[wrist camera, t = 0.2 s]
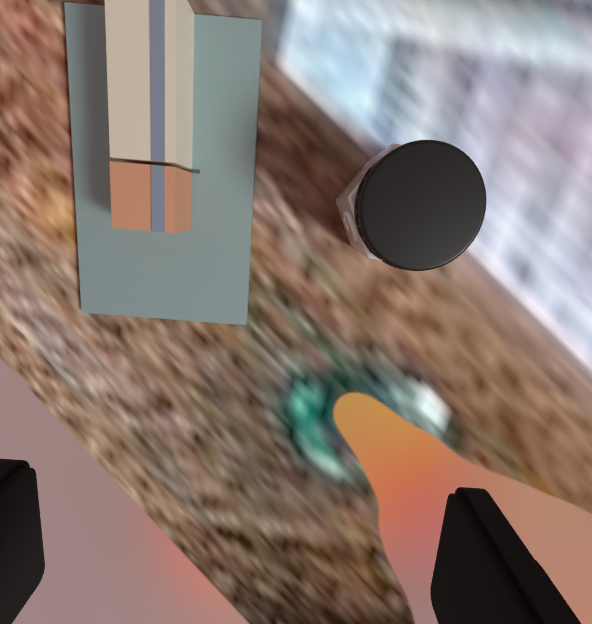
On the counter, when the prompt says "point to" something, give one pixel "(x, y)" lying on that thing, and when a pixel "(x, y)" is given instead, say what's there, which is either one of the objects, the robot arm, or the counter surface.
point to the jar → (414, 205)
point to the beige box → (150, 81)
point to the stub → (150, 197)
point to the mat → (205, 168)
